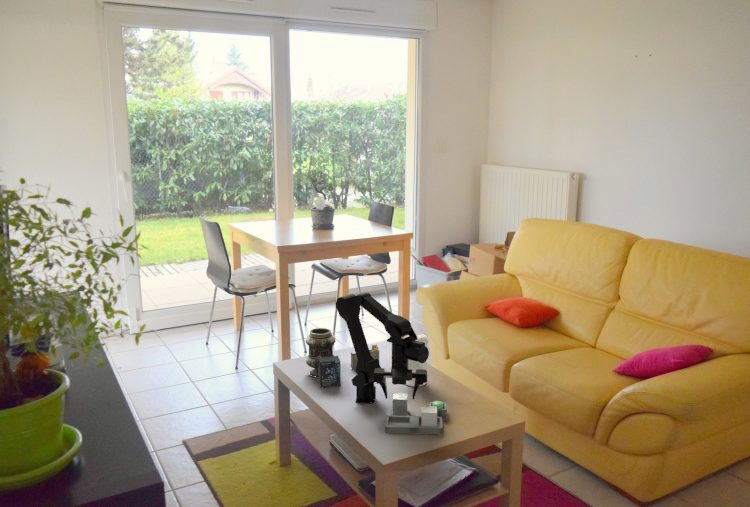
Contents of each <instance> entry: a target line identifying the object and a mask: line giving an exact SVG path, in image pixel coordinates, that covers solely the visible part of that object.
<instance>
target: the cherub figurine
mask: <svg viewBox="0 0 750 507" xmlns="http://www.w3.org/2000/svg"><path fill="white" fill-rule="evenodd" d="M416 336H417V338H418V339H417V340H415V341H418V342H424V343H425V346H426V347H427V348H428V345H429V341H430V340H429V338H428V336H427V335H426V334H424V333H422V334H418V335H416ZM406 337H409V335H407V336H404V337H402V338H403V339H404V338H406ZM408 369H409V370H412V373H416V369H426V371H428V369H429V364H428V359H427V360H426V362H424V363H419V362H416V361H413V360H409V359H408ZM414 381H415V378H412V380H409V381H407V382H406V384H405V385H404V386H407V387H412V388H414ZM425 385H427V383H423V385H420V386H419V387H423V386H425Z"/></svg>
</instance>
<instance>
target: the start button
mask: <svg viewBox="0 0 750 507" xmlns="http://www.w3.org/2000/svg"><path fill="white" fill-rule="evenodd" d="M432 402H433V403H432V406H437V409H443V401H441V400H434V401H432Z"/></svg>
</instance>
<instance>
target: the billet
mask: <svg viewBox="0 0 750 507" xmlns="http://www.w3.org/2000/svg"><path fill="white" fill-rule="evenodd" d="M408 394H409V393H393V394H392V415H395V416H408V397H409V396H408Z"/></svg>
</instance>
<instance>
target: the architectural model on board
mask: <svg viewBox="0 0 750 507" xmlns="http://www.w3.org/2000/svg"><path fill="white" fill-rule="evenodd" d="M369 351H370V354H371V356H372V357H373V358H374V359H378V360H379V361H380V350H379V347H378V345H377V344H376V343H375V344H371V349H369ZM357 361H358V359H357V356H356V352H355V353H353V351H351V352H350V369H351V368H352V369H351V371H353V370H356V366H357Z"/></svg>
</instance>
